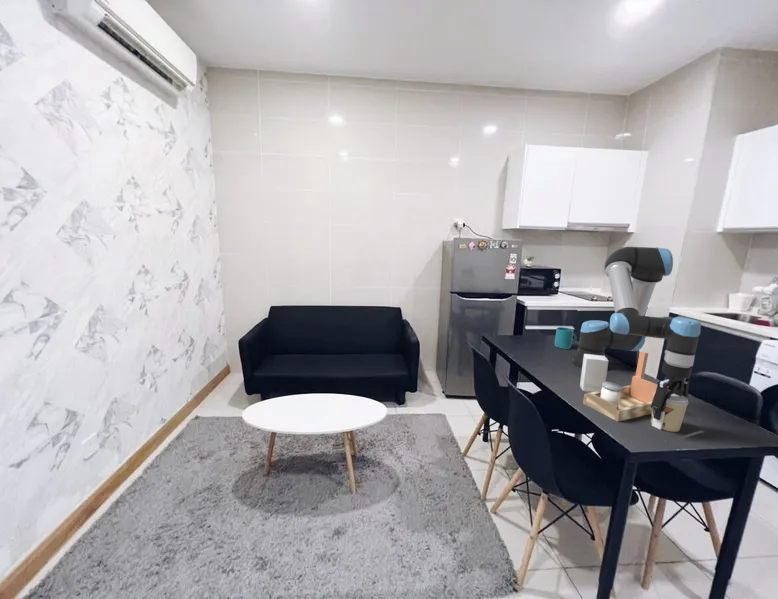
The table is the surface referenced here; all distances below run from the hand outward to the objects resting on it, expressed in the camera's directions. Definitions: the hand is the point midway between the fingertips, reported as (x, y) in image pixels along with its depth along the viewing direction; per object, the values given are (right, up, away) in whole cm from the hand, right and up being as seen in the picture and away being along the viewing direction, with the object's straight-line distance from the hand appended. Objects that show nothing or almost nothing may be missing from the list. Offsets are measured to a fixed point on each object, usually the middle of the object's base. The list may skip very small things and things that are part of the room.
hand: (664, 424), depth 118 cm
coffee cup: (0, -1, 0) cm, 1 cm away
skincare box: (-10, +4, +27) cm, 29 cm away
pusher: (+6, +3, +17) cm, 19 cm away
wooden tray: (-5, +2, +13) cm, 14 cm away
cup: (+10, +15, +87) cm, 89 cm away
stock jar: (-14, +2, +9) cm, 17 cm away
